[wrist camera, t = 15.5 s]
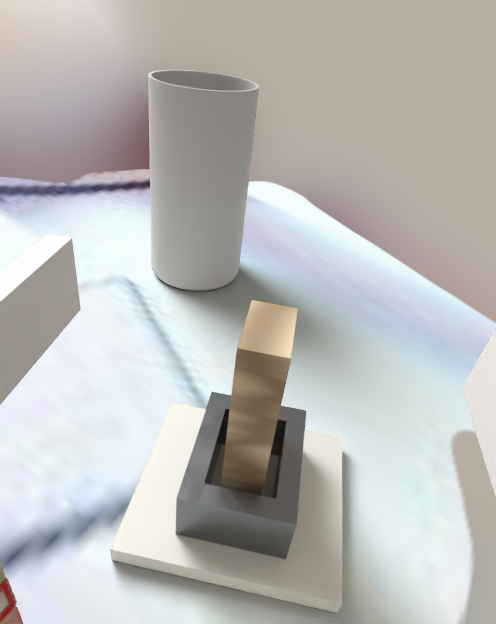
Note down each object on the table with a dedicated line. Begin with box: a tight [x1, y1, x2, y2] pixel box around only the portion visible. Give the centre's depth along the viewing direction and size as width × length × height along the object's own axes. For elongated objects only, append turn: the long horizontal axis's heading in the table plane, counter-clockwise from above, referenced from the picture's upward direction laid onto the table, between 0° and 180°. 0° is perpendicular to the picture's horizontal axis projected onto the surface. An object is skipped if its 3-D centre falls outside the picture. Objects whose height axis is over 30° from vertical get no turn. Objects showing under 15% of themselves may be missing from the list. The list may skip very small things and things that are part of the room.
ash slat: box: [220, 300, 298, 496], centre depth 31 cm, size 3×5×16 cm, turn 170°
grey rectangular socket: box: [176, 392, 306, 559], centre depth 35 cm, size 8×10×4 cm
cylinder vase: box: [148, 70, 259, 291], centre depth 58 cm, size 12×12×25 cm
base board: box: [110, 403, 343, 613], centre depth 36 cm, size 16×14×2 cm
